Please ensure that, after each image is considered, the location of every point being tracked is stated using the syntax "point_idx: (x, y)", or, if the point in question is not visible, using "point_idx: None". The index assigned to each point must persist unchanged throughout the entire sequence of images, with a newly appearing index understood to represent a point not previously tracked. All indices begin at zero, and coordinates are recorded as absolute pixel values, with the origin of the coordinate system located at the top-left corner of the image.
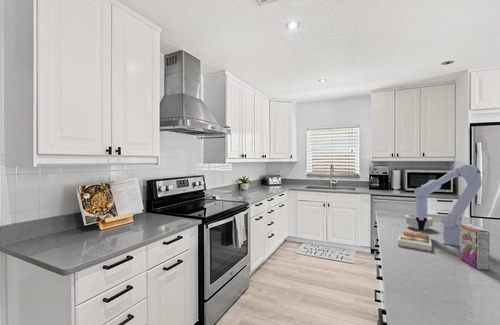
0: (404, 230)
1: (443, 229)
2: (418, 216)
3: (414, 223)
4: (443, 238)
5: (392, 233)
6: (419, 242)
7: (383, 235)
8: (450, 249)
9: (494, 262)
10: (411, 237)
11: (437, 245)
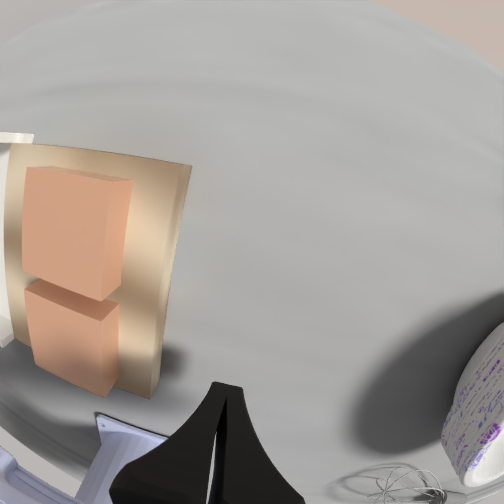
0: (81, 184)
1: (105, 497)
2: (16, 500)
3: (492, 370)
4: (125, 448)
5: (241, 71)
6: None
7: (124, 5)
8: (29, 391)
9: (8, 431)
10: (19, 231)
11: None
